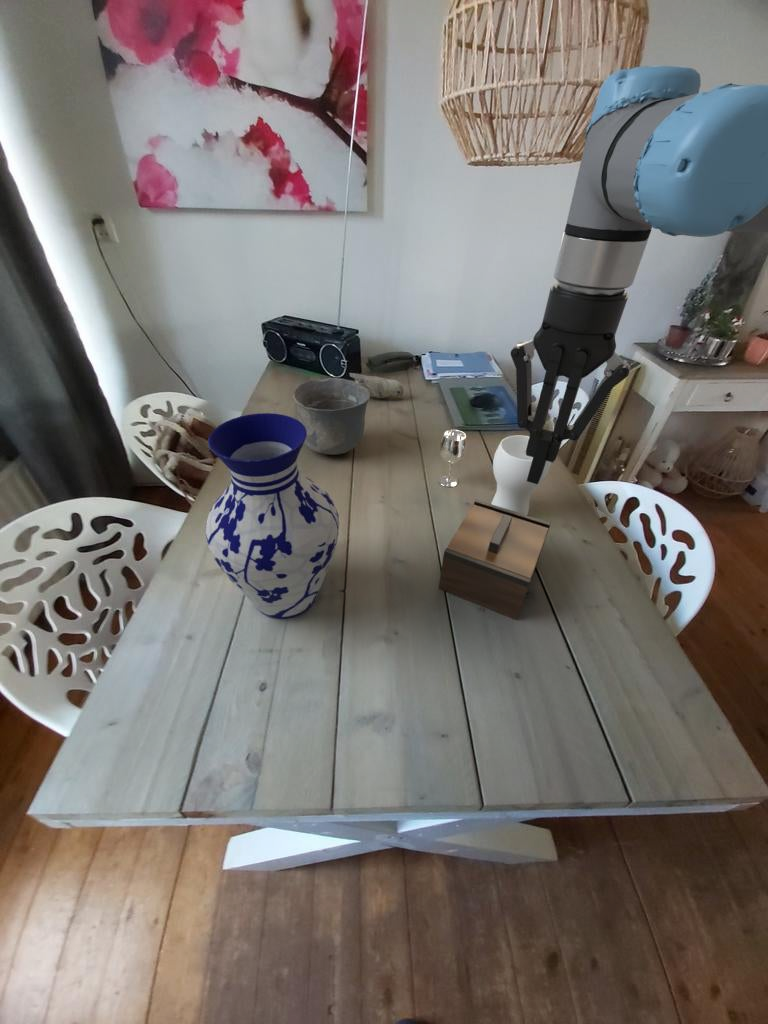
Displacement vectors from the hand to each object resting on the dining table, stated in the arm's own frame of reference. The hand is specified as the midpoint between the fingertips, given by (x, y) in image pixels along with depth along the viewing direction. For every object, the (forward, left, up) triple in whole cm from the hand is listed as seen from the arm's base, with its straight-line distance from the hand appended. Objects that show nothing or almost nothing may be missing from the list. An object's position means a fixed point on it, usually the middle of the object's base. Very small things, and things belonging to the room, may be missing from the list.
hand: (534, 477), depth 59 cm
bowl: (+26, +50, -25) cm, 61 cm away
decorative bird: (+57, +55, -25) cm, 83 cm away
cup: (+24, +5, -25) cm, 35 cm away
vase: (-17, +32, -25) cm, 44 cm away
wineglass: (+27, +20, -25) cm, 42 cm away
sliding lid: (+4, +3, -16) cm, 17 cm away
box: (+4, +3, -24) cm, 25 cm away
